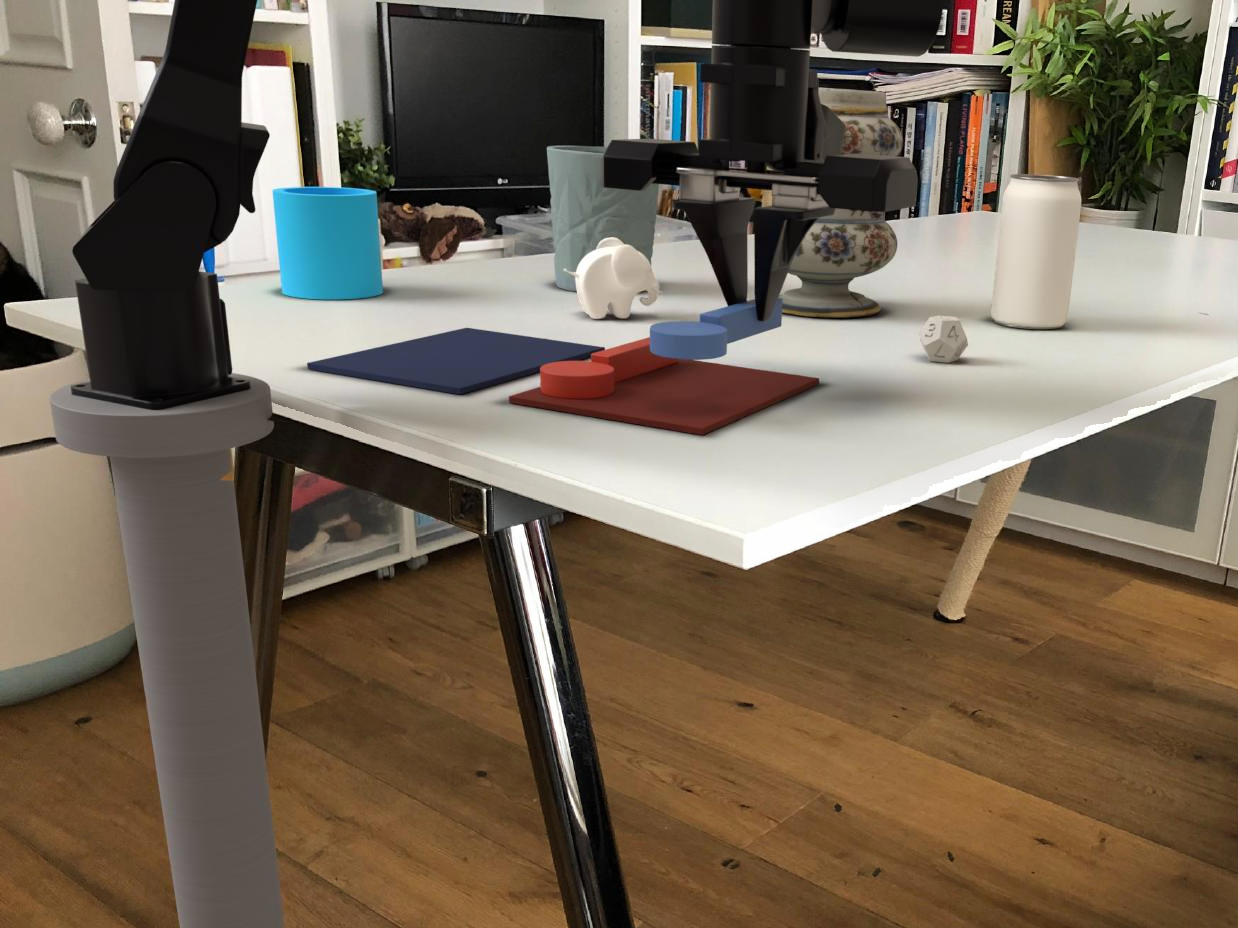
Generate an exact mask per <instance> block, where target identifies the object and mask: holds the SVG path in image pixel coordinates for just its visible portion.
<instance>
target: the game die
mask: <svg viewBox="0 0 1238 928" xmlns="http://www.w3.org/2000/svg"><path fill="white" fill-rule="evenodd" d="M921 327H922V328H920V330H919V332H918V337H919V341H920V343H921V345H922V347H923V350H924V352H925V354H926V358H927V359H928V360H929V362H936V363H937V362H938V363H946V364H949V363H953V362H956V361H958V360H959V358H960V357H961V356H962V354H963V353H964V352H965V350H966V349H967V347H968V346H969V342H968V338H967V334H966V332H965V330H964V328H963V325H962V323H961V320H959V318H958V317H957V316H949V315H948V316H947V315H935V316H930V317H928V319H927V320H926V322H925V323H924V324H923V326H921Z"/></svg>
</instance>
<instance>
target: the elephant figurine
mask: <svg viewBox="0 0 1238 928" xmlns="http://www.w3.org/2000/svg"><path fill="white" fill-rule="evenodd" d="M563 270H564V271H566V272H568V273H570V274H572V275H573V276H575V282H576V289H577V291H576V294H577V297H578V300H579V302H580V306H581V308H582V310H583V311H584V313H585V314H586V315H588V316H589V317H590V318H591V319H594V320H600V319H601V320H602V319H604V318H605V317H606V316H607V313H610V314H612V315H614V317H615V318H617V319H622V320H623V319H628V318H629V317H630V315H631V310H632V305H633V301H634V300H635V297H636V296H637V295H638V294H639V293H641V292H644V291H646V292H647V293H648V297H643V296H640V297H639V298H638V299H639V300H638V301H639V302H640V304H642V305H643V306H646V307H649V306H651V305H653V304H654V303H655V302H656V301H657V300H658V297H659V294H664V292H663V291H661V290H660V289H661V287H660V283H659V281H658V279H657V278H656V276H655V274H654V271H653V268H652V264H651V265H650V263H649V261H648V259H647V258H646V257H645V256H644V255H643V254H642V253H640V252H639V251H637V250H636V249H635V248H633V247H632V246H631V245H627V244H626V245H624V243H623V242H622V241H621V240H619V239H617V238H615V237H610V238H605V239H603V240H602V241H600V242H599V244H598V246H597V248H596V250H594V251H592V252H590V253H589V254H587V255H586V256H585V257H584V258H583V259H582V260H581V262H580V263H579V265H578V267H577V270H576V272H569V271H567V270H566V269H563Z"/></svg>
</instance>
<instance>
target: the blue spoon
mask: <svg viewBox="0 0 1238 928" xmlns="http://www.w3.org/2000/svg"><path fill="white" fill-rule="evenodd" d="M782 301H783V300H782V299H781V298H778V300H777V302H776V305H775V307H774V310H773V312H772V315H771V317H770V319H769V320H767V321H764V322H763V321H758V319H757V313H756V305H755V298H754V299H750V300H747V301H746V302H742V303H738V304H735V305H731V306H728V305H727V306H724V307H721V308H716V309H713V310H709V311H705V312H702V313H700V314H699V321H693V320H692V321H691V320H689V321H688V320H674V321H661V322H657V323H654V324H651V325H650V327H649V337H650V352H651V353H653V354H655V355H658V356H661V357H666V358H673V359H684V360H696V361H703V360H714V359H718V358H721V357H724V356H726V355H727V351H728V344H732V343H735V342H737V341H741V340H744V339H748V338H750V337H752V336H756V335H759V334H762V333H765V332H768V331H772V330H775V329H778V328H781V327H782V321H783V313H782Z"/></svg>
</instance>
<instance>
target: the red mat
mask: <svg viewBox="0 0 1238 928" xmlns="http://www.w3.org/2000/svg"><path fill="white" fill-rule="evenodd" d="M819 385H820V377H815V376H814V377H813V376H807V375H801V374H793V373H792V374H791V373H786V372H779V371H774V370H773V371H772V370H766V369H758V368H752V367H745V366H737V365H731V364H730V365H729V364H724V363H716V362H710V361H703V360H684V359H678V362H677V363H674V364H671V365H668V366H665V367H662V368H659V369H656V370H653V371H650V372H647V373H644V374H641V375H638V376H635V377H632V378H628V379H625V380H622V381H619V382H616V383H614V393H613V394H611V395H609V396H605V397H601V398H594V399H564V398H557V397H552V396H548V395H546V394H544V393H542V392H541V387H540V386H538V387H534V388H531V389H529V390H528V389H527V390H525V391H521V392H519V393H515V394H512V395H508V403H509V404H514V405H521V406H527V407H533V408H538V409H539V408H540V409H544V410H551V411H556V412H557V411H558V412H561V413H562V412H563V413H568V414H573V415H574V414H575V415H582V416H587V417H592V418H597V419H603V420H604V419H605V420H610V421H618V422H623V423H628V424H634V425H641V426H646V427H651V428H658V429H665V430H671V431H675V432H676V431H677V432H683V433H686V434H687V433H689V434H694V435H700V436H704V435H706V434H708V433H710V432H713V431H715V430H717V429H720V428H722V427H724V426H726V425H729V424H731V423H733V422H735V421H737V420H740V419H743V418H745V417H747V416H749V415H752V414H754V413H756V412H758V411H761V410H763V409H765V408H768V407H770V406H772V405H774V404H776V403H779V402H781V401H784V400H785V399H788V398H790V397H792V396H794V395H797V394H800V393H801V392H805V391H806V390H808V389H811V388H813V387H815V386H819Z"/></svg>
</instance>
